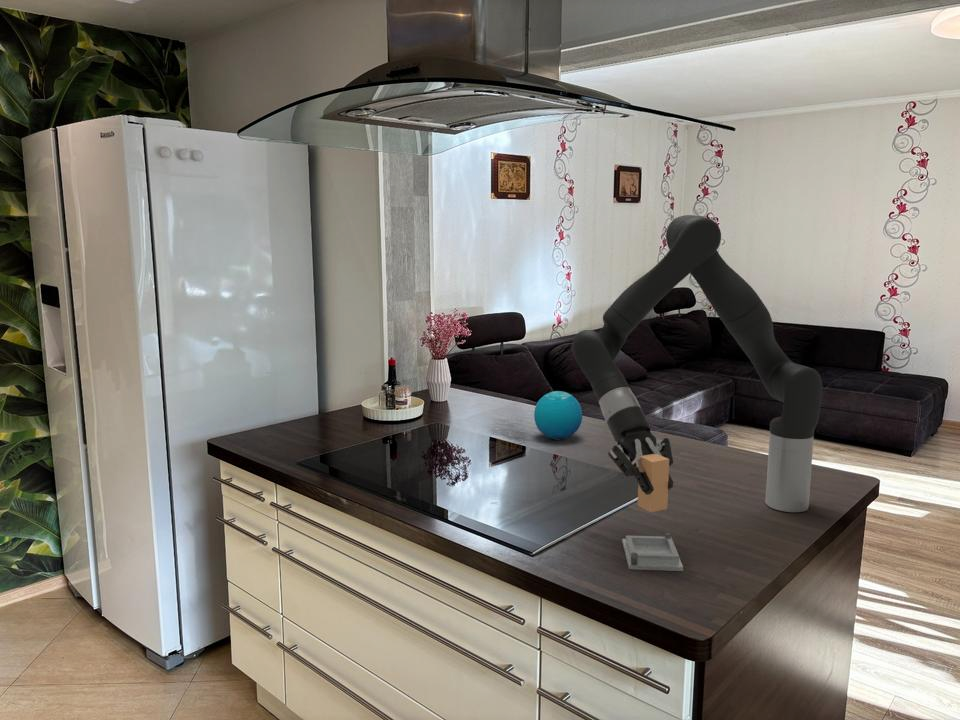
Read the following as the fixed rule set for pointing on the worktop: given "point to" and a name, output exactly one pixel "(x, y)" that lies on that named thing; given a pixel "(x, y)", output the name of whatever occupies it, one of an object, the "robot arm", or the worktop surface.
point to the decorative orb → (558, 415)
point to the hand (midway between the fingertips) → (659, 490)
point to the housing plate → (651, 553)
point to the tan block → (655, 483)
